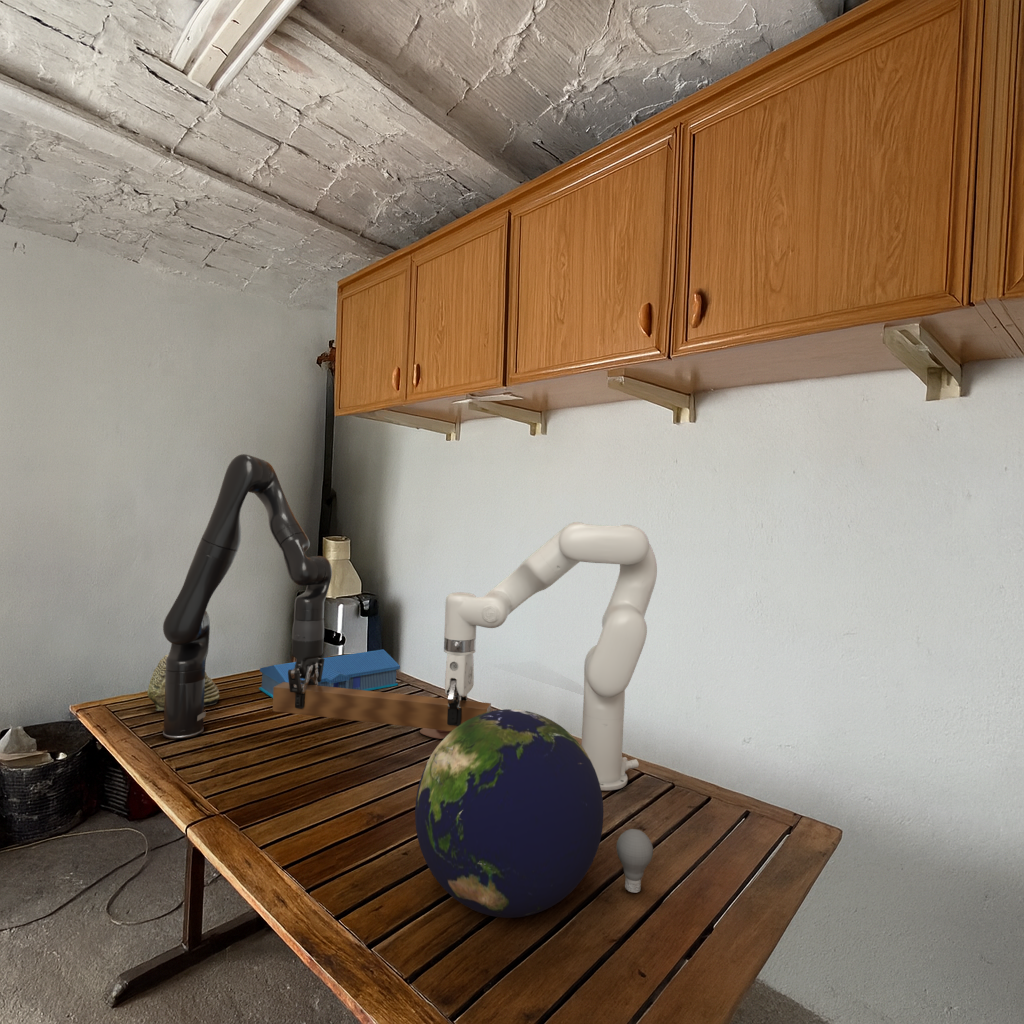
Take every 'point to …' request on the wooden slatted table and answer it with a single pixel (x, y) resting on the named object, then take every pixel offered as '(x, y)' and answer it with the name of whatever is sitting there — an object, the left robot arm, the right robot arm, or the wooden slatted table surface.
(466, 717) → the post
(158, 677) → the fossil
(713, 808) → the wooden slatted table surface
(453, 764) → the globe
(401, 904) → the wooden slatted table surface
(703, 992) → the wooden slatted table surface
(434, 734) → the anatomical model
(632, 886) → the light bulb
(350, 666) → the model building
